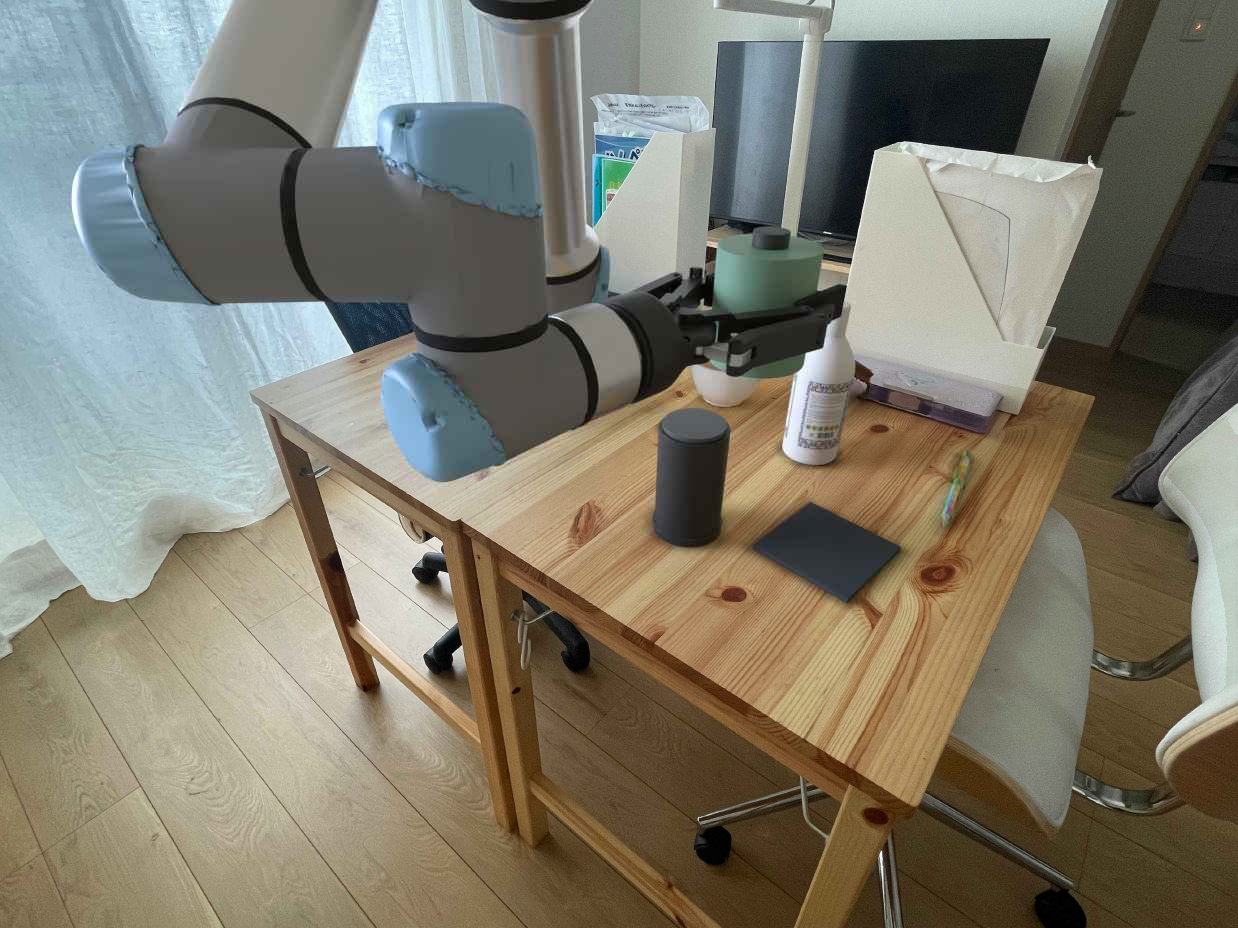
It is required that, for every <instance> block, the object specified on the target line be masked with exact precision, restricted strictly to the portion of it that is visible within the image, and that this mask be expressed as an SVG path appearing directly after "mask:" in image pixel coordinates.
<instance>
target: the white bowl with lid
mask: <svg viewBox="0 0 1238 928" xmlns="http://www.w3.org/2000/svg"><path fill="white" fill-rule="evenodd" d="M690 373H691V374H690V375H691V378H692V384H693V386H694V388H695V389H696V391H697V392H698V394H700V396H702V398H703V400H704V401H705V402H706V403H708V404H709V405H712V406H716V407H721V408H732V407H737V406H739V405H741V404H743V402H744V401H745V400H746V399H748V398H749V397H750V396H751V395H752V394H753V393H754V392H755V391H756V390H757V387H758V384H759V383H760V380H761V379H760V378H749V377H742V376H740V377H731V376H728V375H727V374H726V372H725V371H723V370H721V369H719V368H717V367H715V366H714V365H713V364H712V363H711V362H710V361H709V362H707V363H705V364H700V365H692V366H690Z"/></svg>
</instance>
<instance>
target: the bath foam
mask: <svg viewBox="0 0 1238 928" xmlns="http://www.w3.org/2000/svg"><path fill="white" fill-rule="evenodd" d="M851 309H852V304H850V302H847V301H845V300H844V305H843V310H842V315H841V317H839V318H837V319H835V320H833V321H831V323H830V324H828V326H827V331H826V336H825V342H824V347H823V348H822V349H819V350H815V351H812V352H808V353H806V356H805V361H804V366H803V367H802V369H801V370H800V371H798V372H797V373H795V374H793V379H792V385H791V391H790V396H789V401H788V407H787V408H788V409H787V415H786V420H785V426H784V433H783V439H782V445H781V446H782V451H783V453H784V454H785V455H786V456H787V457H788V458H789V459H791V460H792V461H795V462H797V463H799V464H803V465H807V466H822V465H826V464H829V463H831V462H832V461H834V460H835V459H836V457H837V454H838V451H839V446H840V442H841V438H842V434H843V430H844V424H845V421H846V416H847V412H848V407H849V403H850V398H851V394H852V390H853V386H854V380H855V379H854V377H855V360H856V359H855V355H854V353H853V349H852V346H851V345H850V343H849V339H848V337H847V336H846V333H847V328H848V324H849V323H848V322H849V320H850V319H849V318H850V313H851Z"/></svg>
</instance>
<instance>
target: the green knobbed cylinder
mask: <svg viewBox="0 0 1238 928" xmlns="http://www.w3.org/2000/svg"><path fill="white" fill-rule="evenodd" d="M824 252H825V249H824V247H823V245H821V244H820V243H818V242H816V241H813V240H810V239H807V238H803V237H800V236H795V235H792V232H791V230H790V229H788V228H785V227H779V226H758V227H755V228H754V229H753V231H752V233H744V234H743V233H742V234H736V235H730V236H726V237H723V238H722V239H719V241H718V242H717V245H716V257H715V268H714V269H715V270H714V273H715V279H714V290H713V302H712V307H711V310H712V309H721V308H725V309H727V310H728V311H730V312H731V313H732V314H734V313H743V312H752V311H761V310H770V309H778V308H787V307H795V304H796V300H799V299H802V298H804V297H807V296H809V295H812V294H814V293H817V292H818V287H819V282H820V281H819V280H820V276H821V275H820V274H821V270H822V266H823V265H822V264H823V259H824ZM716 325H717V331H716V341H715V342H717V335H718V325H719V321H717V322H716ZM805 356H806V353H805V354H801V355H797V356H794V357H790V358H787V359H783V360H780V361H776V362H773V363H769V364H766V365H762V366H758V367H755V368H752V369H751V370H749V371H748V372H746V373H745V374H743V375H742V377H749V378H760V380H762V379H763V380H767V379H768V380H769V379H779V378H786V377H789V376H792V375H794V374H795V373H797V372H798V371H800V370H801V369H802V367H803V366H804V361H805ZM710 362H711V363H712V364H713V365H714V366H715V367H717V368H719V369H721V370H723V371H725V372H726V364H725V363H721V362H718V361H715V360H710Z"/></svg>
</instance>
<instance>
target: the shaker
mask: <svg viewBox="0 0 1238 928" xmlns="http://www.w3.org/2000/svg"><path fill="white" fill-rule="evenodd" d="M731 433H732V429H731V426H730V424H729V422H728V421H727V420H726V419H725V417H723V416H722V415H721V414H719V413H717V412H715V411H713V410H709V409H706V408H700V407H684V408H679V409H675V410H672V411H670V412H668V413H667V414H666V415H665V416H664V417H662V418H661V419H660V421H659V423H658V431H657V452H656V453H657V454H656V458H657V459H656V476H655V477H656V478H655V497H654V500H655V501H654V512H653V514H652V528H653V531H654V533H655V534H656V535H657V536H658V537H659V538H660V539H661V540H662V541H664V542H666V543H668V544H670V545H673V546H676V547H681V548H700V547H703V546H706V545H709V544H711V543H713V542H715V540H717V539H718V538H719V536H720V535H721V532H722V527H723V517H722V512H723V502H724V494H725V485H726V476H727V466H728V459H729V451H730V441H731V435H732V434H731Z"/></svg>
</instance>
